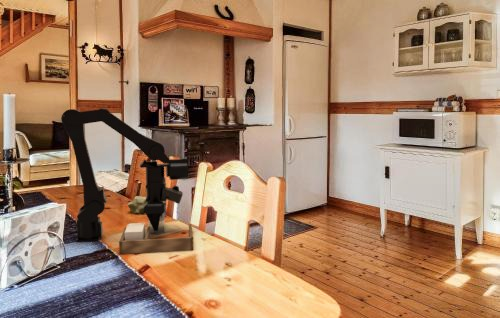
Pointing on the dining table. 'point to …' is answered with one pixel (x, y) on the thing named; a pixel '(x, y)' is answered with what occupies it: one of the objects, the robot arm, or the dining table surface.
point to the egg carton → (135, 231)
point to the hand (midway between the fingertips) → (156, 228)
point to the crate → (155, 244)
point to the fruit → (137, 205)
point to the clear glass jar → (160, 229)
